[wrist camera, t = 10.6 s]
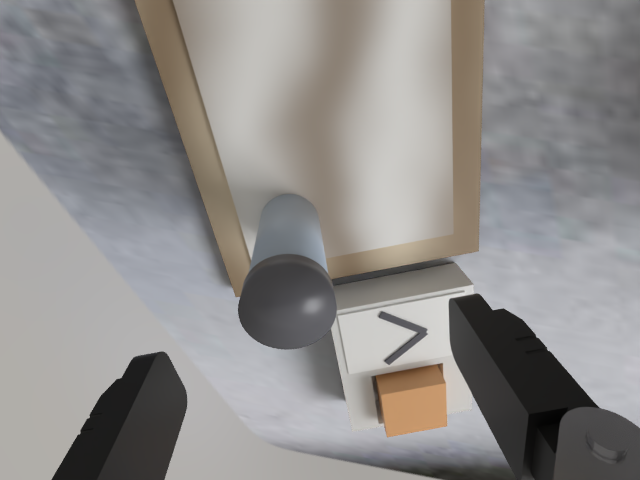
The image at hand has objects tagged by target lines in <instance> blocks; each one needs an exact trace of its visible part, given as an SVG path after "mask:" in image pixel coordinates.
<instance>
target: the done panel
mask: <svg viewBox="0 0 640 480" xmlns="http://www.w3.org/2000/svg"><path fill="white" fill-rule="evenodd" d="M333 287H334V293H335V298H336V305H337V313H336V318H335V321H334V323H333V325H332V327H331V331H332V336H333V341H334V346H335V351H336V355H337V360H338V365H339V370H340V375H341V379H342V384H343V389H344V394H345V399H346V404H347V408H348V413H349V418H350V423H351V428H352V432H355V431H360V430H366V429H371V428H377V427H382V426H384V423H383V419H382V415H381V411H380V404H379V398H378V391H377V384H376V377H375V375H381V374H386V373H391V372H397V371H402V370H408V369H413V368H418V367H424V366H429V365H434V364H437V366H438V368H439V370H440V372H441V374H442V376H443V378H444V380H445V382H446V402H447V414H452V413H458V412H463V411H469V410H472V393H471V391H470V389H469V387H468V385H467V383H466V381H465V379H464V378H463V376H462V374H461V372H460V370H459V368H458V366H457V364H456V362H455V360H454V357H453V354H452V351H451V346H450V336H449V299H450V298H455V297H461V296H466V295H471V294H474V284H473V283H472V282H471V281H470V279H469V278H468V277H467V276H466V275H465V274H464V272H463V271H462V270H461V269H460V268H459V266H458V265H457V264H456V263H451V264H446V265H441V266H436V267H430V268H425V269H420V270H414V271H409V272H404V273H399V274H393V275H388V276H383V277H378V278H372V279H367V280H362V281H356V282H351V283H346V284H341V285H335V286H333Z"/></svg>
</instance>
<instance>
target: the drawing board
mask: <svg viewBox="0 0 640 480" xmlns="http://www.w3.org/2000/svg"><path fill="white" fill-rule="evenodd" d="M484 1H485V0H135V3H136V6H137V9H138V12H139V15H140V18H141V21H142V24H143V27H144V30H145V33H146V35H147V38H148V41H149V44H150V47H151V50H152V53H153V56H154V59H155V62H156V65H157V68H158V71H159V74H160V77H161V79H162V82H163V85H164V88H165V91H166V94H167V97H168V100H169V103H170V106H171V109H172V112H173V115H174V118H175V120H176V123H177V126H178V129H179V132H180V135H181V138H182V141H183V144H184V147H185V150H186V153H187V156H188V159H189V161H190V164H191V167H192V170H193V173H194V176H195V179H196V182H197V185H198V188H199V191H200V194H201V197H202V200H203V203H204V205H205V208H206V211H207V214H208V217H209V220H210V223H211V226H212V229H213V232H214V235H215V238H216V241H217V244H218V246H219V249H220V252H221V255H222V258H223V261H224V264H225V267H226V270H227V273H228V276H229V279H230V282H231V285H232V288H233V290H234V293H235V296H236V297H240V296H241V292H242V287H243V283H244V280H245V278H246V276H247V274H248V273H249V269H250V264H251V259H252V255H253V250H254V246H255V241H256V236H257V232H258V227H259V222H260V218H261V213H262V211H263V209H264V207H265V206H266V204H267V203H268V202H269V201H270V200H272V199H273V198H275V197H277V196H280V195H284V194H295V195H299V196H302V197H304V198H306V199H307V200H309V201H310V202H311V203H312V204H313V205H314V207H315V208H316V210H317V213H318V216H319V222H320V228H321V234H322V240H323V246H324V252H325V257H326V263H327V269H328V274H329V276H330V278H331V279H335V278H340V277H346V276H351V275H356V274H361V273H367V272H372V271H377V270H382V269H388V268H393V267H398V266H403V265H409V264H414V263H419V262H425V261H430V260H435V259H440V258H446V257H451V256H456V255H461V254H467V253H472V252H477V251H479V213H480V170H481V128H482V85H483V43H484Z"/></svg>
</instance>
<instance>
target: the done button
mask: <svg viewBox="0 0 640 480" xmlns="http://www.w3.org/2000/svg"><path fill="white" fill-rule="evenodd" d="M375 377H376V384H377V391H378V398H379V404H380V411H381V415H382V419H383V423H384V427H385V431H386V435H387V437H391V436H396V435H402V434H407V433H413V432H418V431H424V430H429V429H434V428H440V427H445V426H447V402H446V382H445V380H444V378H443V376H442V374H441V372H440V370H439V368H438V366H437V364H434V365H429V366H424V367H418V368H413V369H408V370H402V371H397V372H391V373H386V374H381V375H375Z"/></svg>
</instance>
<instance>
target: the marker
mask: <svg viewBox="0 0 640 480" xmlns="http://www.w3.org/2000/svg"><path fill="white" fill-rule="evenodd" d="M336 313H337V305H336V298H335V293H334V287H333V283H332V280H331V278H330V276H329V274H328V269H327V263H326V257H325V252H324V246H323V240H322V234H321V228H320V222H319V216H318V213H317V210H316V208H315V207H314V205H313V204H312V203H311V202H310V201H309V200H307V199H306V198H304V197H302V196H299V195H295V194H284V195H280V196H277V197H275V198H273V199H272V200H270V201H269V202H268V203H267V204H266V206H265V207H264V209H263V211H262V213H261V218H260V222H259V227H258V232H257V236H256V241H255V246H254V250H253V255H252V259H251V264H250V269H249V273H248V274H247V276H246V278H245V280H244V283H243V287H242V292H241V296H240V300H239V305H238V314H239V319H240V322H241V324H242V326H243V328H244V329H245V331H246V332H247V333H248V334H249V335H250V336H251V337H252V338H253V339H255V340H256V341H258V342H260V343H261V344H263V345H266V346H269V347H272V348H277V349H297V348H302V347H305V346H308V345H310V344H313V343H315V342H316V341H318V340H320V339H321V338H322V337H323V336H324V335H325V334H326V333H327V332H328V331H329V330H330V328H331V327H332V325H333V323H334V321H335V318H336Z"/></svg>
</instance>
